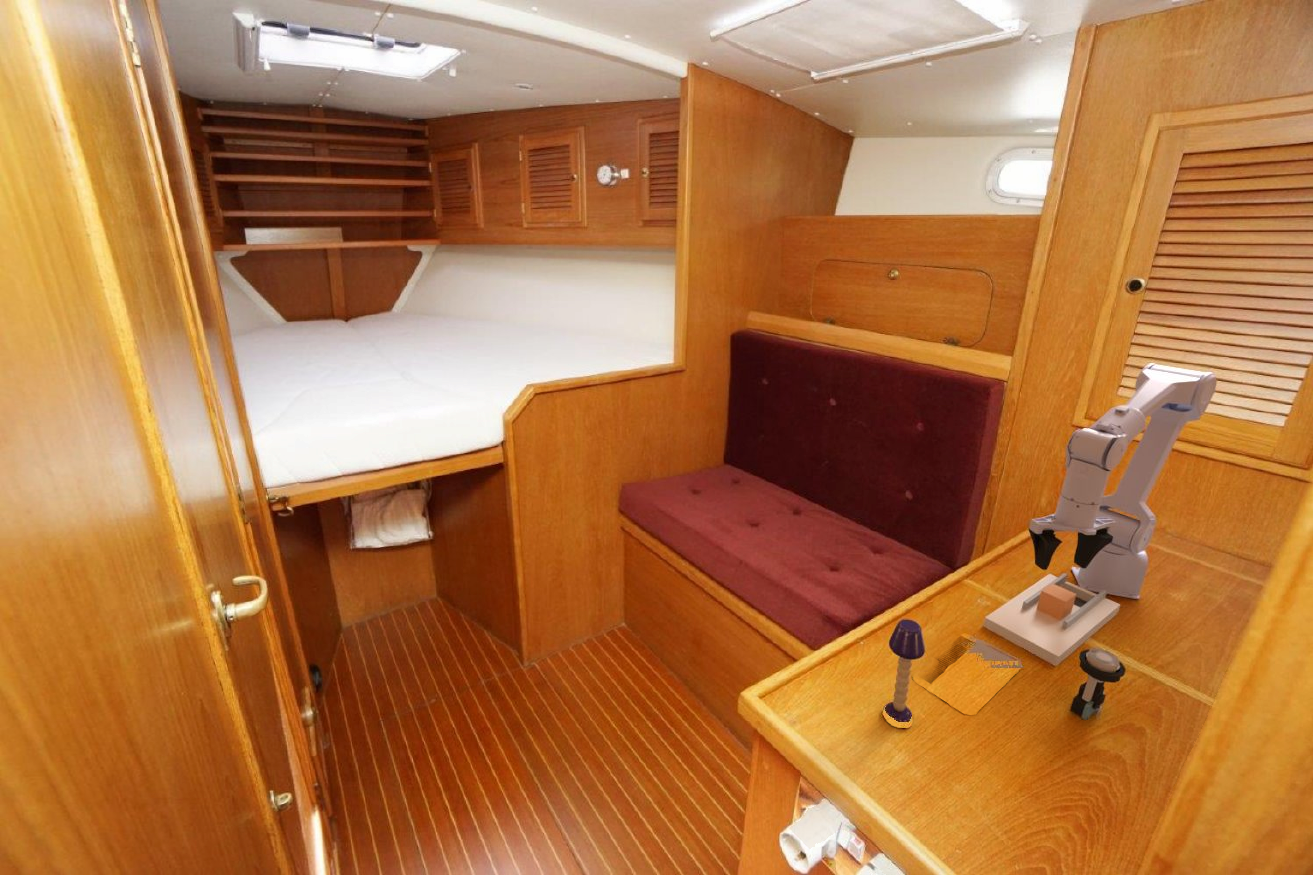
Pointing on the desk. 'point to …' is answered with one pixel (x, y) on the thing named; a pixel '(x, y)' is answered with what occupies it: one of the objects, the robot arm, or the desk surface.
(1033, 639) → the trough
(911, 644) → the toy lamp
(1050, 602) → the block
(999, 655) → the grooming comb
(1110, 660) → the push button
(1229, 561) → the desk surface
